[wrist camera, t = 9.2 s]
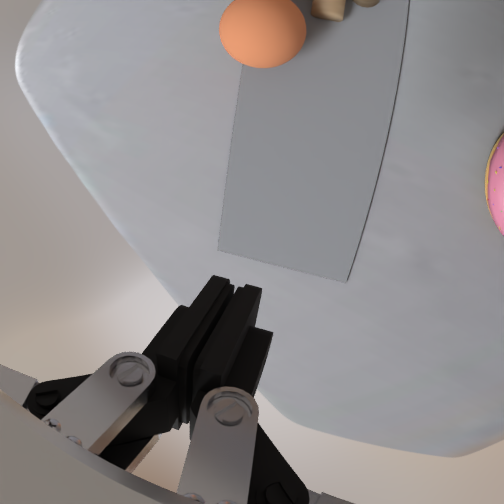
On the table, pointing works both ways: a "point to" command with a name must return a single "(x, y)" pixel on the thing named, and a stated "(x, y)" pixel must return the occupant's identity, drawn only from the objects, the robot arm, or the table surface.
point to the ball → (262, 32)
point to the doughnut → (496, 184)
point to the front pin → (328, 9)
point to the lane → (313, 142)
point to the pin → (366, 3)
